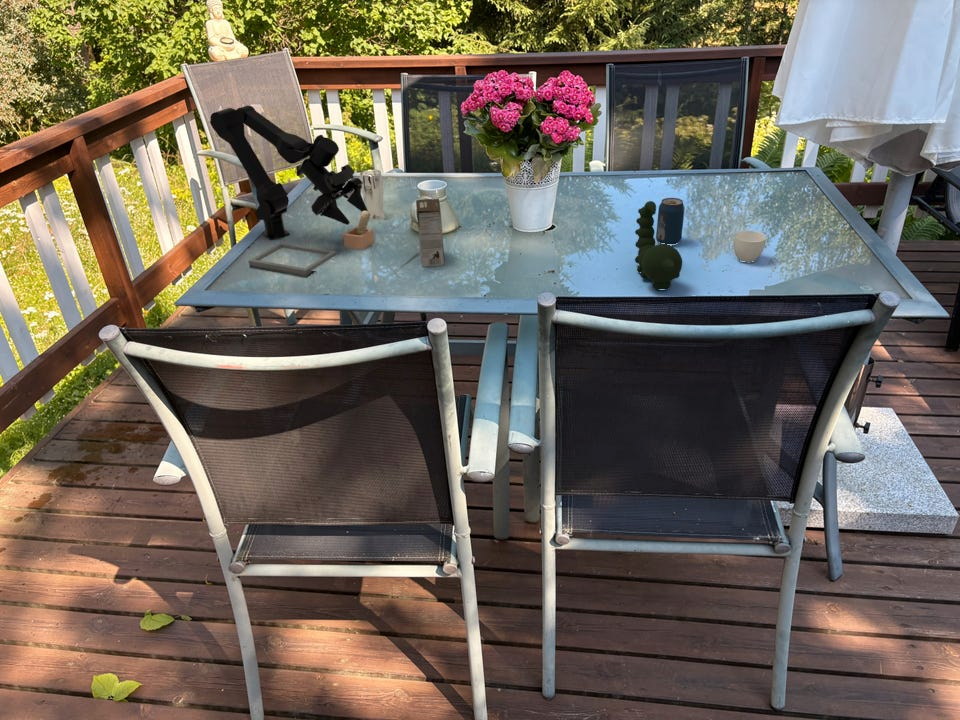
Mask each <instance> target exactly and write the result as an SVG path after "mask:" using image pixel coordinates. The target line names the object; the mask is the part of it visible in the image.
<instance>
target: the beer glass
mask: <svg viewBox="0 0 960 720" xmlns="http://www.w3.org/2000/svg"><path fill="white" fill-rule="evenodd" d="M359 179H360V180H361V181H362V182H363V184H362V188H361V195H362V198H363V201H364V203H365V206H366V208H367V210H368V212H370V218H369V220H370V219H371V220H377V219H378V220H383V221H384V220H386V219H387V217H386V213H385V210H384V195H385V193H384V182H383V181H384V180H383V177H382V171H381V170H378V169H365V170H363V171H361V172H360V173H359Z"/></svg>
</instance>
